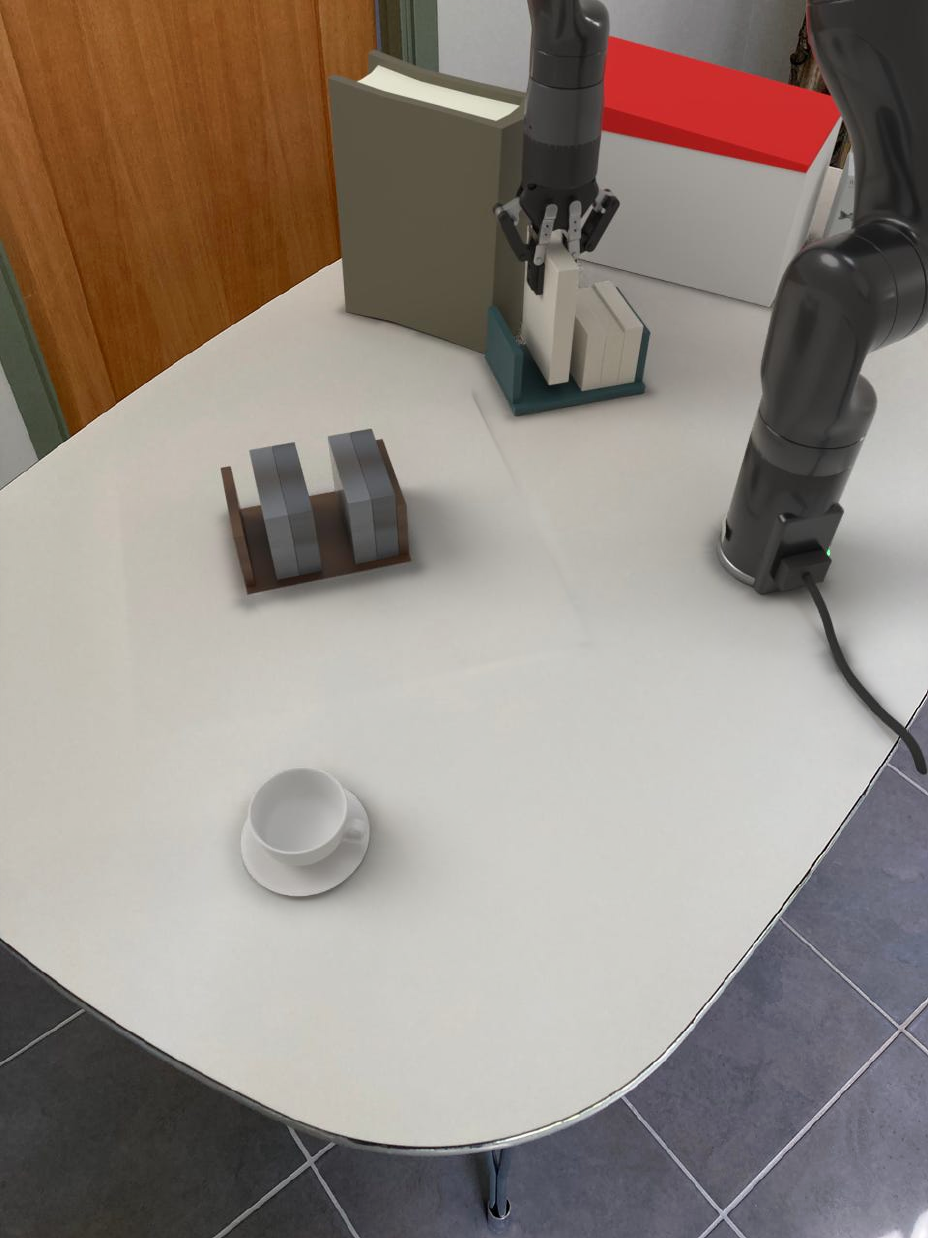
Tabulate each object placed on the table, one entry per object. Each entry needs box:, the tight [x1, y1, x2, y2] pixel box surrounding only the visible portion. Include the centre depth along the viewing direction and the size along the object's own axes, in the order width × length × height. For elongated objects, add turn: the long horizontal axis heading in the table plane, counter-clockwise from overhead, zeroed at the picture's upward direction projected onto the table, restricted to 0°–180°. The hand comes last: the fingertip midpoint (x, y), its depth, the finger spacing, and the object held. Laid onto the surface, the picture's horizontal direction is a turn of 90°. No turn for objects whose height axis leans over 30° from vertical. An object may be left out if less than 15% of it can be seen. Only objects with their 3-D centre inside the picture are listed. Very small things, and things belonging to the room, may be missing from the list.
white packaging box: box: [821, 151, 854, 240], centre depth 127 cm, size 7×7×13 cm
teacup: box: [240, 765, 371, 897], centre depth 73 cm, size 10×10×5 cm
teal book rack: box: [484, 280, 651, 417], centre depth 111 cm, size 12×16×8 cm
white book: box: [520, 225, 581, 385], centre depth 107 cm, size 10×2×14 cm, turn 16°
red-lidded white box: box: [554, 35, 843, 308], centre depth 127 cm, size 21×35×21 cm, turn 63°
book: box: [327, 49, 530, 355], centre depth 112 cm, size 22×9×28 cm, turn 62°
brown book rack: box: [220, 428, 413, 595], centre depth 92 cm, size 12×16×9 cm
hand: (550, 288), depth 105 cm, fingers closed on white book, 2 cm apart
